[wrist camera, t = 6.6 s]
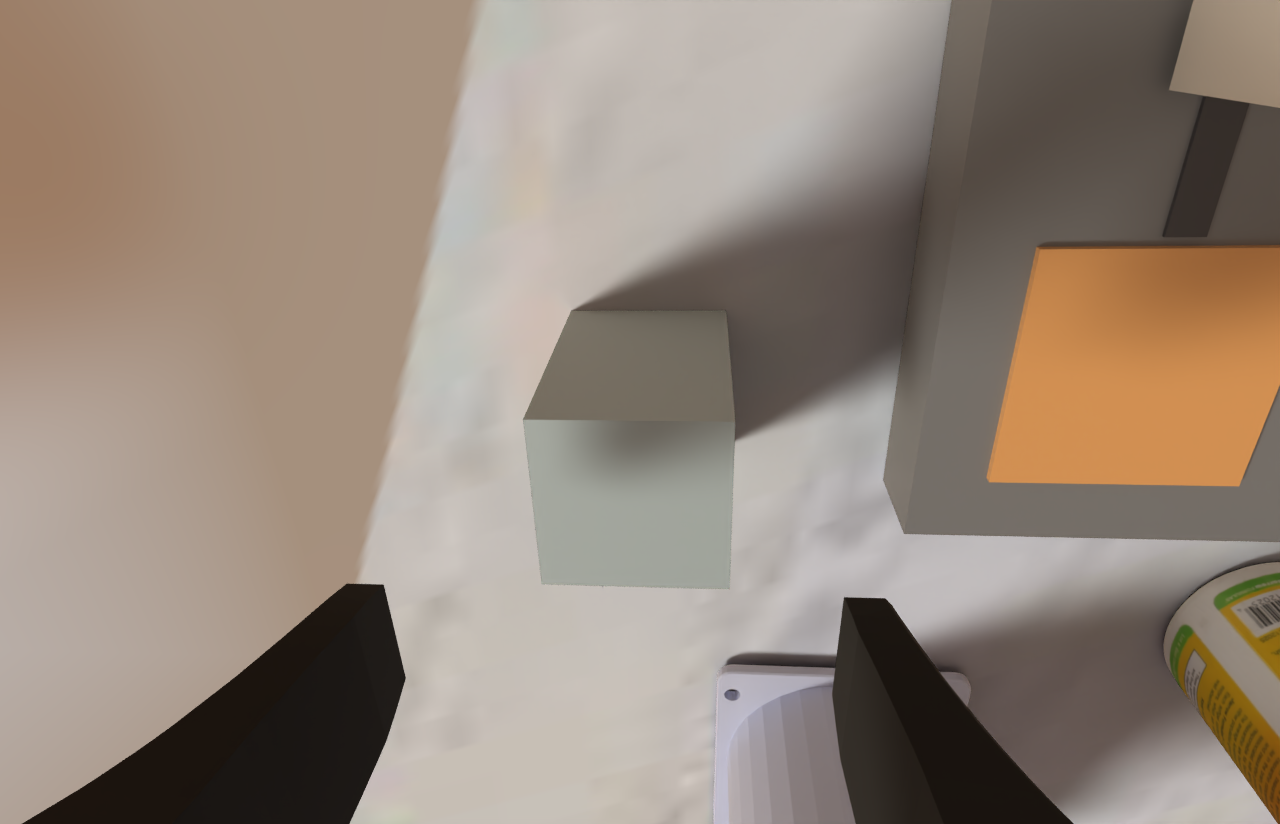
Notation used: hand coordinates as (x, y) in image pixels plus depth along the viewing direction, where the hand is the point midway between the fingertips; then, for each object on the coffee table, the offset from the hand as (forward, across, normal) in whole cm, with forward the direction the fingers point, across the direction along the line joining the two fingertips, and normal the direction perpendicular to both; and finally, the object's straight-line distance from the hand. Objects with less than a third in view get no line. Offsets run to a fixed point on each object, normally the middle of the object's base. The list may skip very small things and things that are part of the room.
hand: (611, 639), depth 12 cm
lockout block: (+10, 0, 0) cm, 10 cm away
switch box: (+10, -11, -3) cm, 15 cm away
